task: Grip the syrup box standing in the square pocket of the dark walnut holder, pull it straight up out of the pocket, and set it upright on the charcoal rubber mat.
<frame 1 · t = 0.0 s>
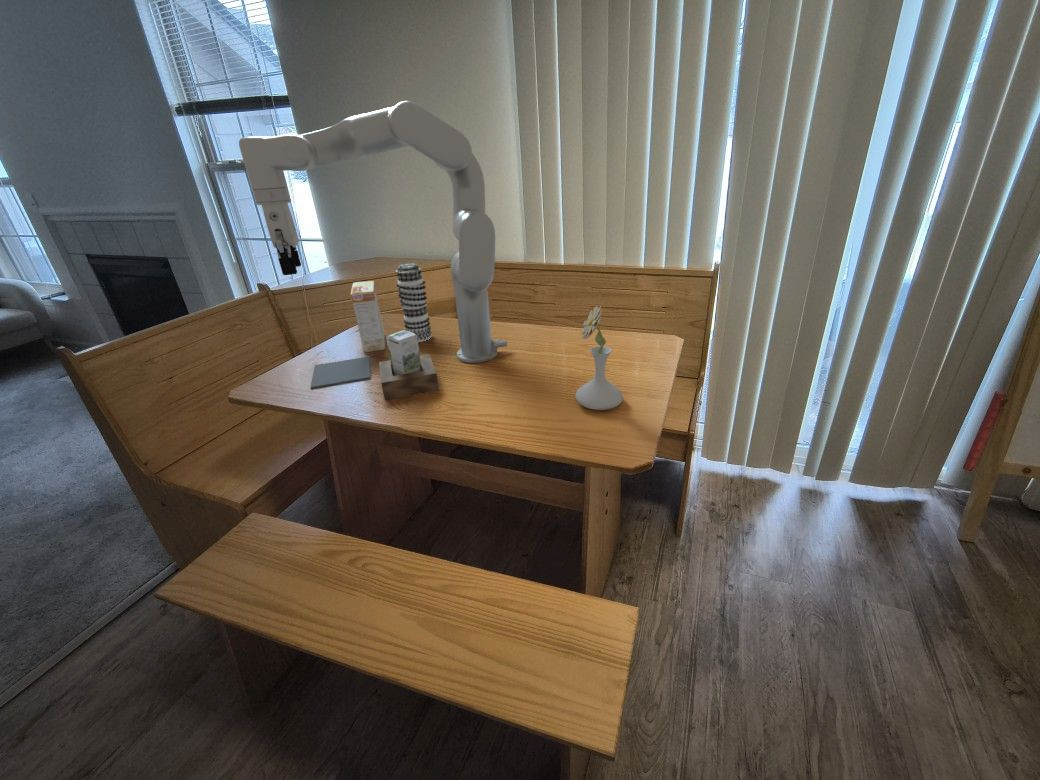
hand: (292, 270, 113), 31 cm above the table, tool pointing down, fingers open, 9 cm apart
syrup box: (409, 384, 123), resting in walnut pocket holder
black and white tower: (419, 338, 155), on the table
flower in vase: (598, 404, 109), on the table
charcoal mat: (342, 372, 132), on the table
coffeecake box: (374, 343, 153), on the table
walnut pocket holder: (409, 384, 123), on the table
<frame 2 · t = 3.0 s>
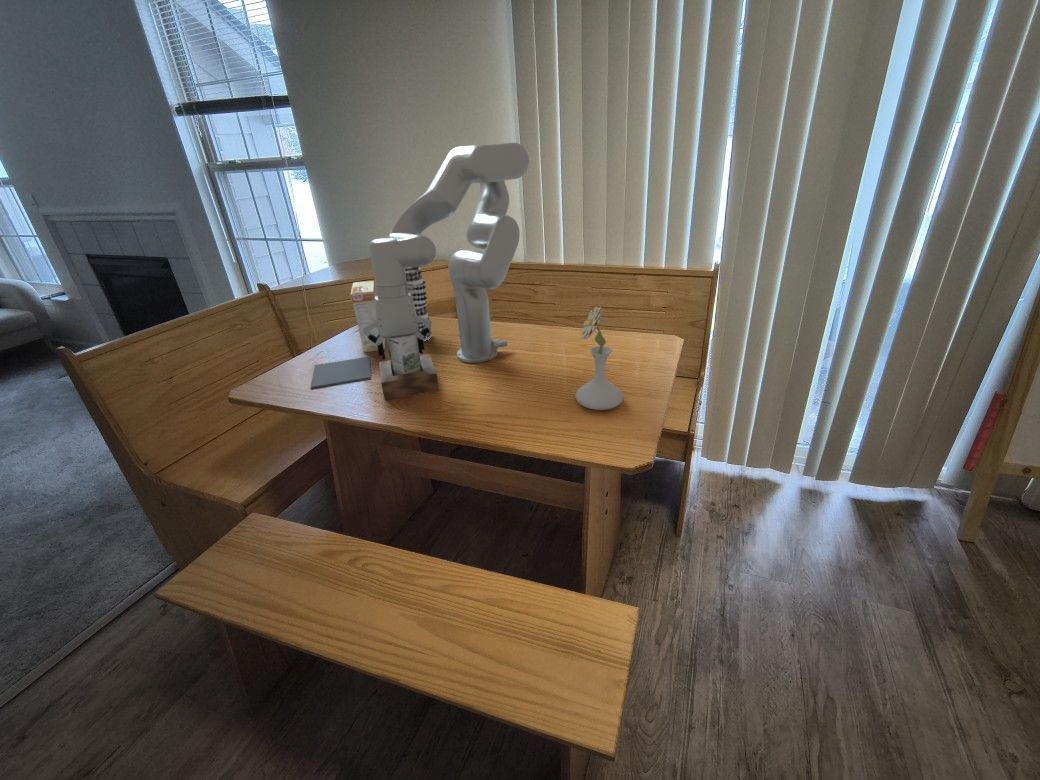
hand: (402, 355, 119), 9 cm above the table, tool pointing down, fingers open, 9 cm apart
nothing on the table moved.
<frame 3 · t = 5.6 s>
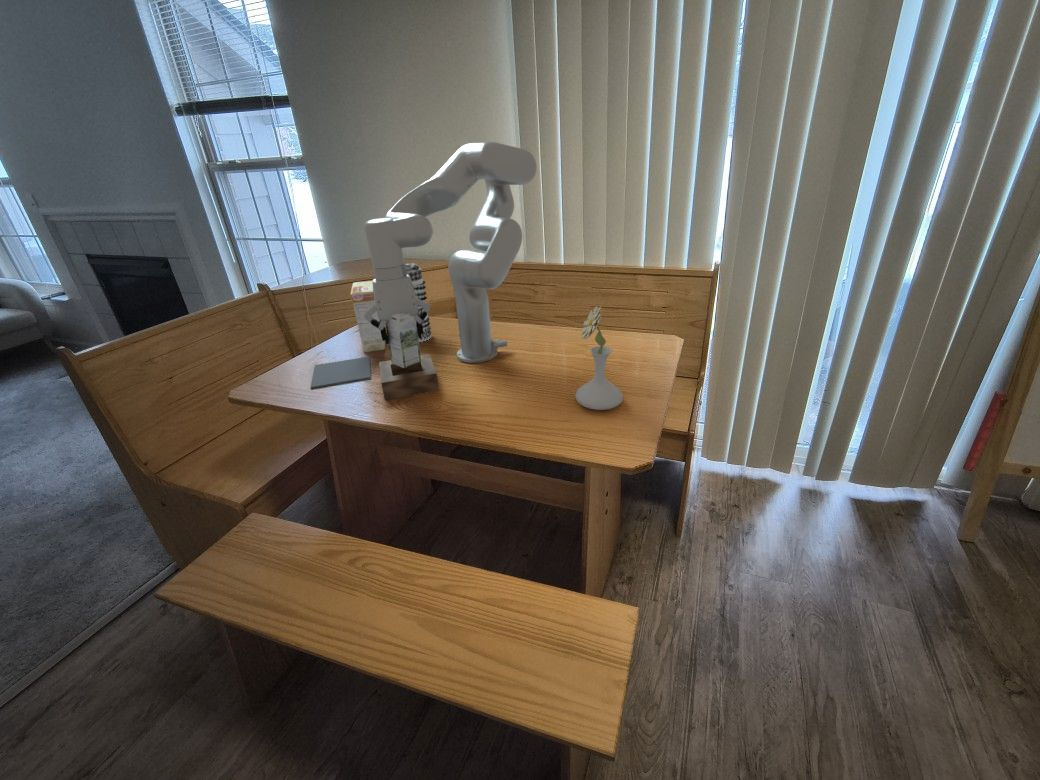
hand: (403, 339, 118), 13 cm above the table, tool pointing down, fingers closed on syrup box, 8 cm apart
syrup box: (406, 363, 121), point 6 cm above the table, touching gripper
everything else where it was.
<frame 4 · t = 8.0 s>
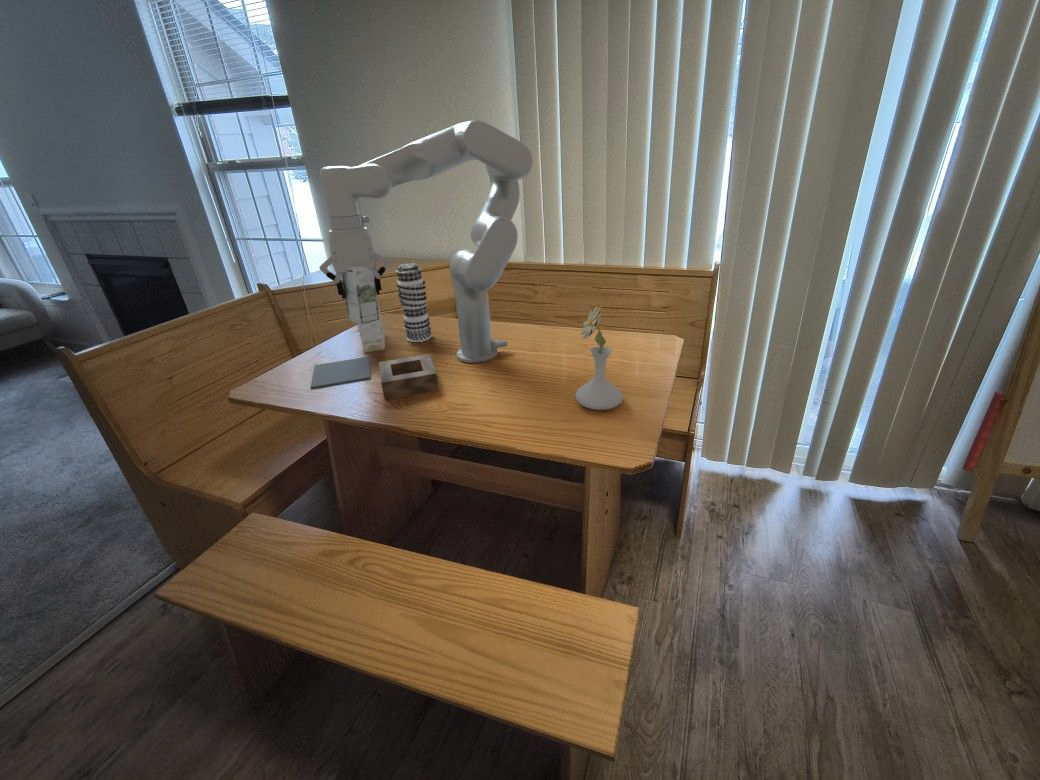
hand: (361, 295, 116), 24 cm above the table, tool pointing down, fingers closed on syrup box, 8 cm apart
syrup box: (364, 321, 119), point 17 cm above the table, touching gripper
everything else where it was.
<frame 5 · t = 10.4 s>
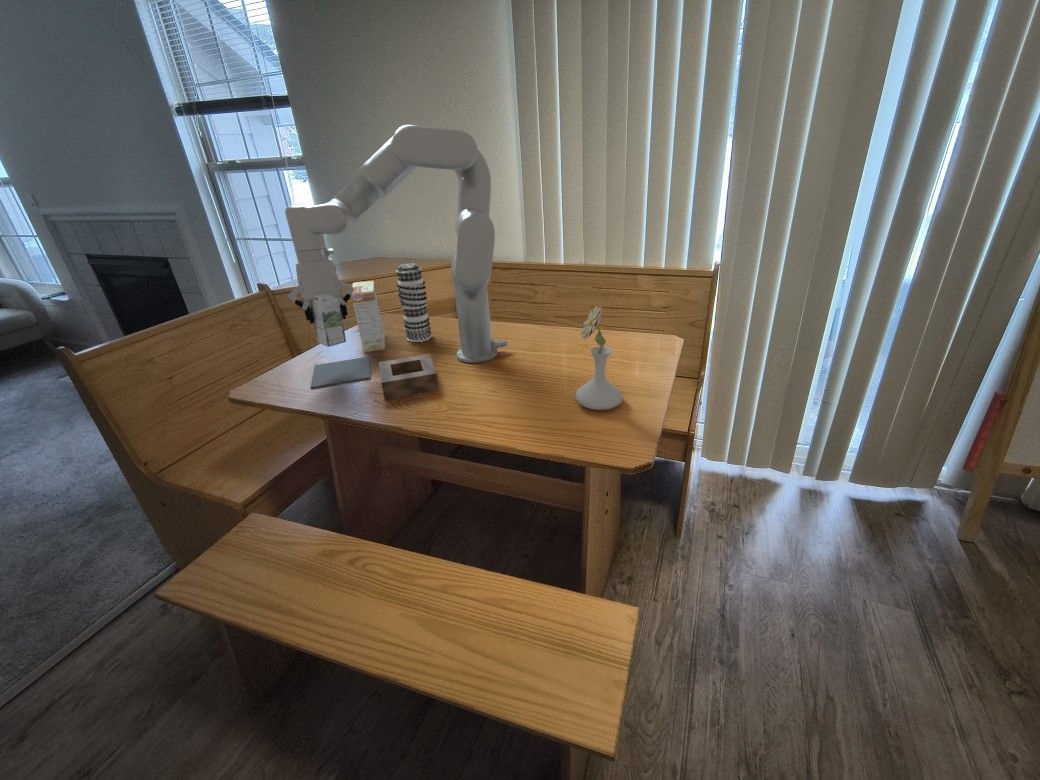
hand: (328, 319, 125), 16 cm above the table, tool pointing down, fingers closed on syrup box, 8 cm apart
syrup box: (332, 343, 128), point 9 cm above the table, touching gripper
everything else where it was.
when the fingers open (9 cm above the table, at t = 12.4 s): syrup box drops 2 cm, resting on charcoal mat.
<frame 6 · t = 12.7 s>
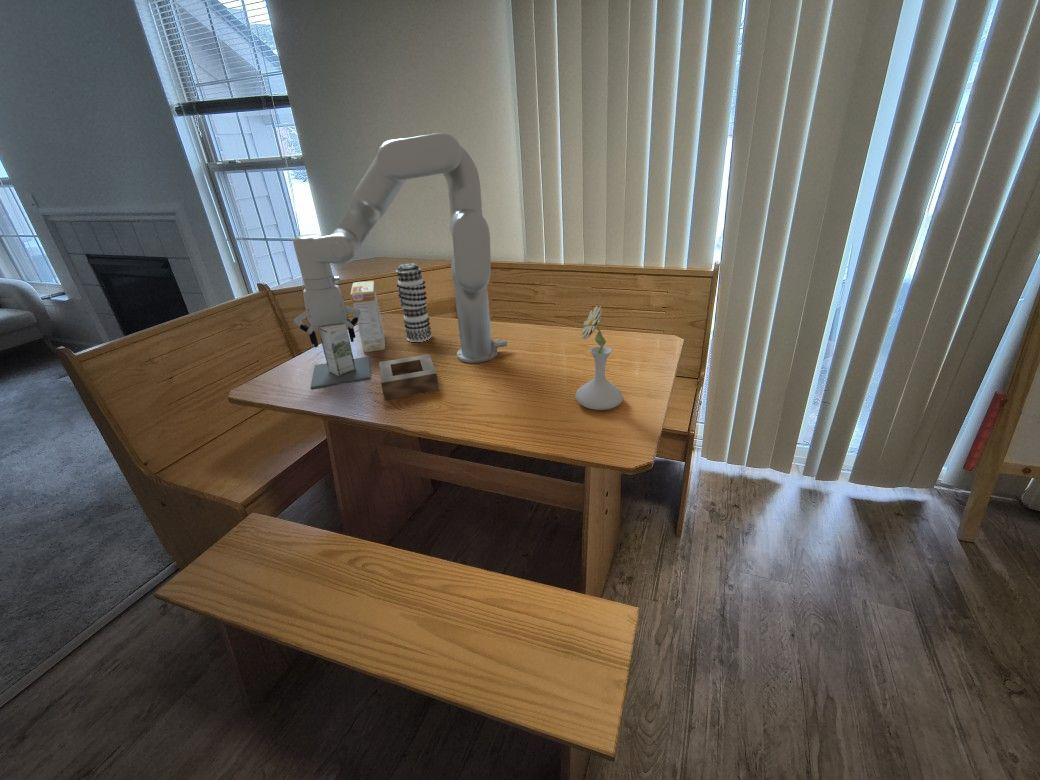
hand: (334, 343, 128), 9 cm above the table, tool pointing down, fingers open, 9 cm apart
syrup box: (343, 371, 132), resting on charcoal mat
everything else where it was.
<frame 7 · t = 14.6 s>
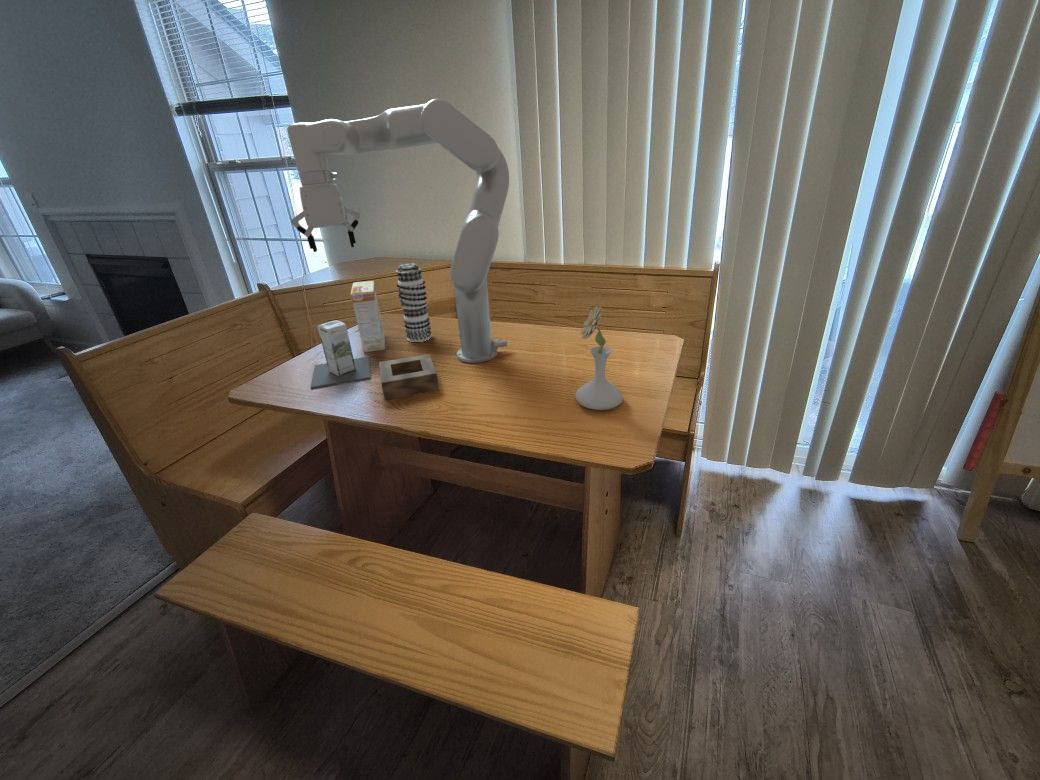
hand: (334, 248, 122), 34 cm above the table, tool pointing down, fingers open, 9 cm apart
nothing on the table moved.
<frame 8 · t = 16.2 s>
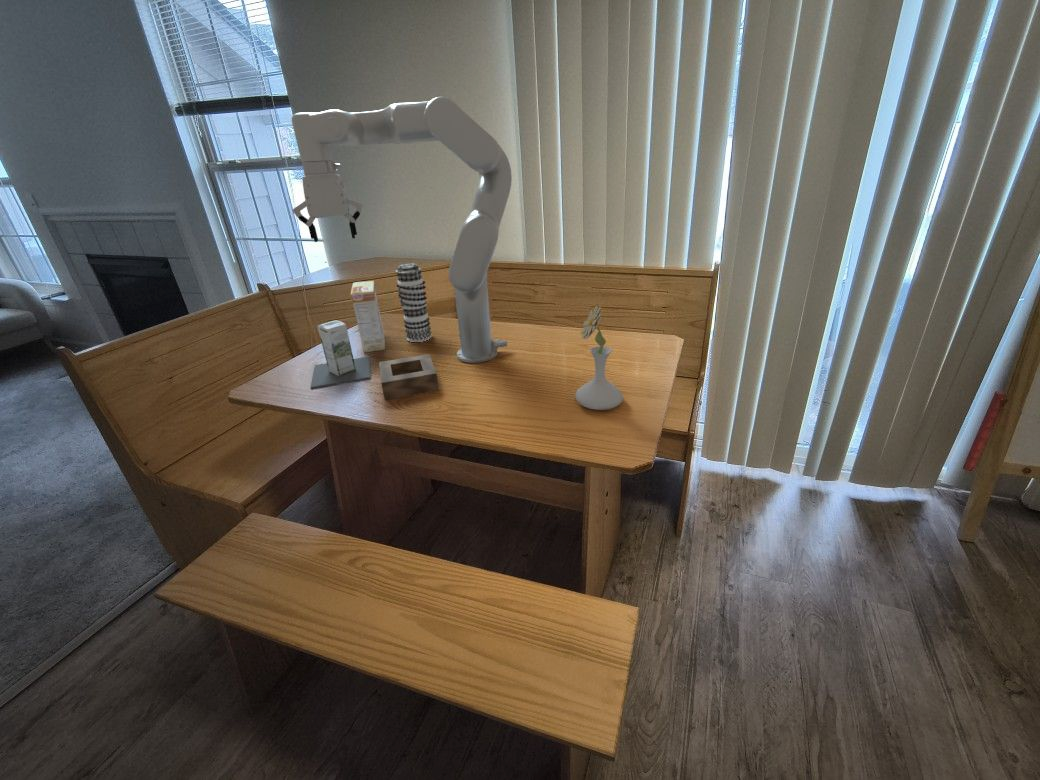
hand: (335, 239, 122), 36 cm above the table, tool pointing down, fingers open, 9 cm apart
nothing on the table moved.
at the end: syrup box inside the target area on the charcoal mat (0.4 cm from its centre), point 0.4 cm above the charcoal mat's base; syrup box tilted 0°; the gripper is holding nothing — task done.
